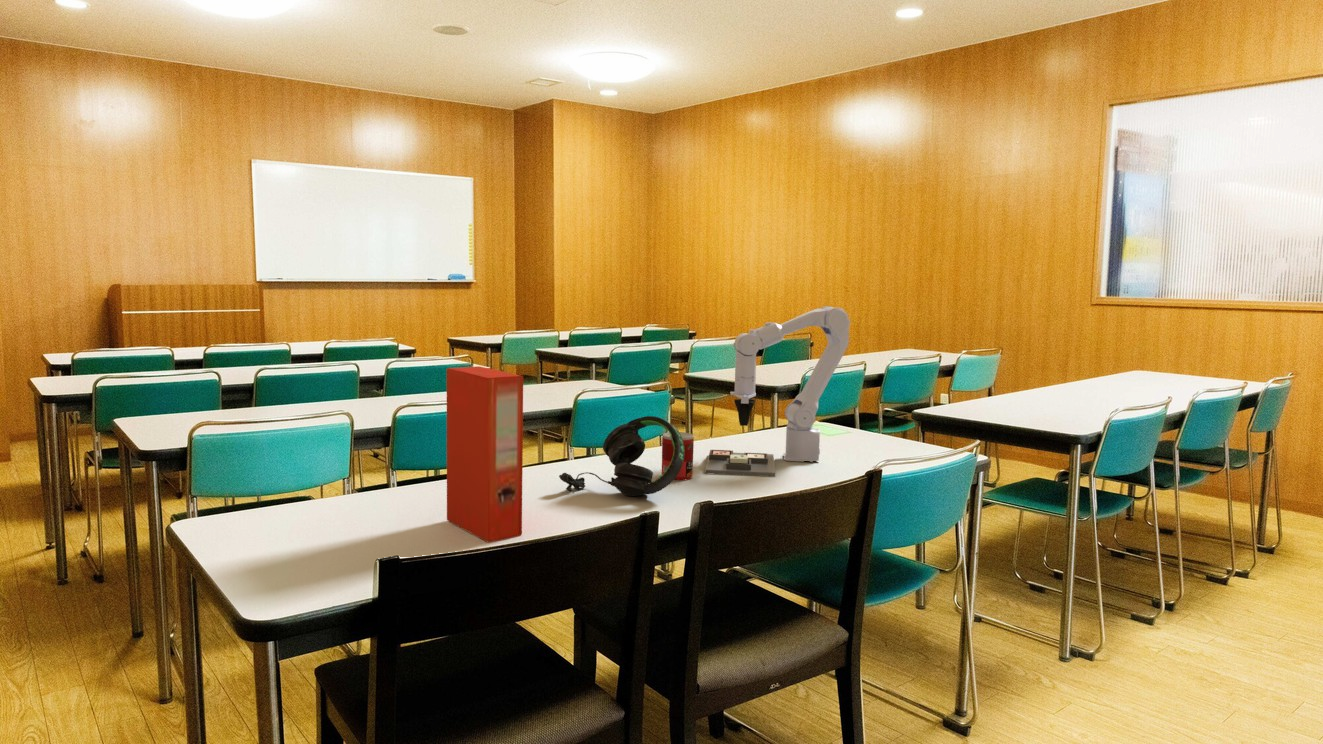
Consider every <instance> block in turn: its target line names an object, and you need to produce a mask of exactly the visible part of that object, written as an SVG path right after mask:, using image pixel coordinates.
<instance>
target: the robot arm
mask: <svg viewBox="0 0 1323 744" xmlns="http://www.w3.org/2000/svg"><path fill="white" fill-rule="evenodd" d="M812 326H813V327H817V328H818V327H819V328H821V329H822V331H823V332H824V334H825V337H826V340H827V345H826V347H825V348H824V350H823V352H822V354H821V355H820V357H819V358H818V359H819V360H818V361H817V363H816V364H815V367H814V369H813V370H812V372H811V374H810V376H809V377H808V379H807V381H806V383H805V385H804V387H803V389H802V391H801V392H800V393H798V394H797V395H796V396H795V398H794V399H793V401H792V402H790V403H789V404H788V405H787V406H786V408H785V411H784V415H785V419H786V420H787V424H786V429H785V430H786V431H785V453H783V460H784V461H786V462H804V461H810V462H809V463H814V462H813V461H816V462H815V463H818V462H817V461H819V462H820V452H821V451H820V450H821V449H820V442H821V441H820V437H821V434H820V432H821V431H820V429H819V428H813V425H814V423H815V422H816V416H817V415H816V414H817V411H818V410H819V400H820V398H821V396H822V395H823V393H824V391H825V389H826V387H827V386H828V383H829V381H830V380H831V378H832V376H833V374H834V373H835V371H836V369H837V367H838V365H839V363H840V362H841V359H842V358H843V356H844V354H845V353H846V350H847V348H848V347H849V344H850V326H851V320H850V317H849V316H848V313H847V312H846V310H844V308H841V307H832V306H831V305H830V306H828V305H827V306H825V305H824V306H821V308H814V309H812V310H809V311H807V312H805V313H803V314H800V315H798V316H795V317H794V318H792V319H788V320H787V321H784V322H782V323H780V324H779V323H777V322H775V321H774V322H770V321H768V322H765V323H764V325H763V326H761V327H758V328H755V329H753V328H751V329H749V330H748V331H749V333H746V332H744V333H743V332H742V333H740V334H739V335H737V336H736V338H735V340H734V342H733V348H734V350H735V354H736V355H735V362H734V364H735V365H734V366H735V368H734V371H735V372H734V391H730V392H729V393H730V394H729V395H731V396H735V397H737V398H736V399H733V401H734V405H735V407H736V410H737V415H738V423H739V426H742V427H743V426H745V427H747V426H748V425H749V422H750V416H751V412H752V410H753V406H754V405H755V403H756V402H755V401H756V400H755V398H754V397H756V396H757V393H756V383H757V382H756V376H757V375H756V374H757V353H758V352H759V350H763V349H766V348H769V347H770V346H773V345H776V344H779V343H781V342H782V341H783V339H784V337H785V336H786V335H789V334H792V333H794V332H797V331H800V330H803V329H805V328H808V327H812Z"/></svg>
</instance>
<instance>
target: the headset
mask: <svg viewBox="0 0 1323 744" xmlns="http://www.w3.org/2000/svg"><path fill="white" fill-rule="evenodd" d="M651 426H659V427H662V428H664V430H666V431H667V433H668V432H669V433H670V434H671V435H670V437H671V439H672V444H673V447H674V454H673V458H672V461H671V463H670V465H669V467H668V469H667V470H666V472H665V473H664V474H663V475H662V474H661V475H660V477H658V478H657V479H655V480H654V481H652V480H653V477H654V472H653V471H652V470H651V469H650V468H647V467H644V466H641V465H638V464H633V463H634V462H636V461H637V460H638V459H639V458H640V457H641V456H642V454H643V453H644V451H645V449H646V442H645V440H644V439H643V438H642V437H641V435H640V434H639V430H641V429H643V428H646V427H651ZM679 432H680V431H679V430H678V428H677V427H676V426H674V425H673V424H672V423H671V422H668V421H667V420H666V419H664V418H661V417H659V416H654V415H647V416H642V417H638V418H634V419H632V420H630V421H628V422H627V423H623V424H620V425H618V426H616V427H615V428H614V429H612V431H610V432H609V434H608V435H607V436H606V437H605V439H604V441H603V444H602V450H603V452H604V454H605V455H606V456H607V457H608V460H609V461H610V463H611V464H612V465H614V473H613V475H614V476H616V477H612V476H611V478H610V479H611V480H608V481H607V480H604V479H602V478H601V477H600V476H598V475H597V474H596V473H593V472H588V471H587V472H582V473H581V472H580V473H578V475H577V476H576V478H574V477H573V476H572V475H571V474H570V473H567V472H563V473H561V474H559V476H558V477H559V479H560V481H562V482H564V483H566V484H568V485H567V487H566V488H565V489H566V490H567V491H568V492H570V493H572V494H575V492H574V491H573V489H572V487H573V488H574V490H579V489H580V488H582V489H584V488H585V487H586V485H585V484H586V483H585V477H580V478H579V476H582V475H584V474H588V475H589V474H590V475H593V476H595V477H596V478H598V479H599V480H600V481H601V482H604V483H606V484H607V485H610V486H612V487H614V488H615V489H616V490H618V491H619V492H620V493H621V494H622V495H625V496H629V497H639V496H642V495H652V494H655V493H657V492H660V491H662V490H663V489H665V488H667V487H668V486H670V484H672V483H673V482H674V481H675V480H674V479H675V478H676V477H677V475H678V474H679V472H680V470H681V468H682V465H683V462H684V456H685V449H684V442H683V439H682V437H681V434H680V433H679Z"/></svg>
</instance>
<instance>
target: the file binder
mask: <svg viewBox="0 0 1323 744" xmlns="http://www.w3.org/2000/svg"><path fill="white" fill-rule="evenodd" d="M523 421H524V375H520V374H515V373H511V372H507V371H502V370H497V369H494V368H493V369H492V368H490V367H489V368H488V367H483V366H480V365H479V366H466V367H463V366H461V367H447V368H446V520H447V521H448V522H450V523H452V524H454V525H456V526H457V527H459V528H461V529H462V530H465V531H467V532H468V533H470V534H471V535H474V536H476V537H477V538H479V539H481V540H482V541H484V542H488V543H493V542H498V541H500V540H507V539H513V538H517V537H521V536H522V534H523V460H524V459H523V447H524V446H523V444H524V441H523V440H524V430H523V429H524V422H523Z"/></svg>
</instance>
